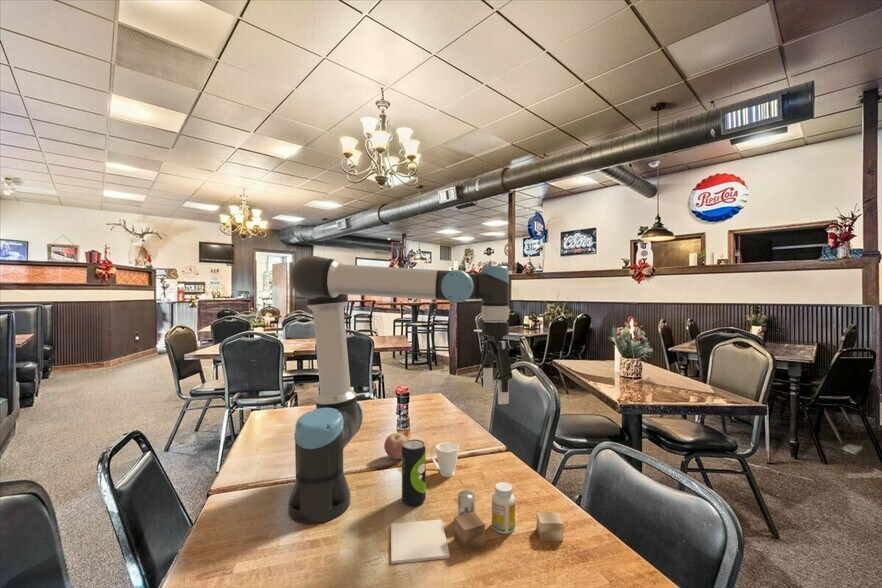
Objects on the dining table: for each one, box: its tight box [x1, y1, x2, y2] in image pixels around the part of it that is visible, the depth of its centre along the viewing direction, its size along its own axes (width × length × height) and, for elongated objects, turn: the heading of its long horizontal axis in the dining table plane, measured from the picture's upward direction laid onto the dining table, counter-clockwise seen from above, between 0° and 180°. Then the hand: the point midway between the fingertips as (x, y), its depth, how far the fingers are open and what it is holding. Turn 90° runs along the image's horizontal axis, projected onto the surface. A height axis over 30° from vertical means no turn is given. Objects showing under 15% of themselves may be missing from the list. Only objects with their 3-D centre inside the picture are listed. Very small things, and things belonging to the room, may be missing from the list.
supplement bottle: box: [491, 481, 516, 535], centre depth 87 cm, size 5×5×10 cm
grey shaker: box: [457, 490, 476, 516], centre depth 90 cm, size 4×4×6 cm
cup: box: [430, 441, 460, 478], centre depth 113 cm, size 7×10×8 cm
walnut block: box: [453, 511, 486, 554], centre depth 82 cm, size 5×5×5 cm
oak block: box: [535, 511, 564, 542], centre depth 84 cm, size 5×4×4 cm
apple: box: [383, 432, 409, 460], centre depth 122 cm, size 8×8×8 cm
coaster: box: [390, 519, 451, 565], centre depth 82 cm, size 12×12×1 cm
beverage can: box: [401, 438, 427, 507], centre depth 98 cm, size 6×6×15 cm
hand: (495, 396), depth 105 cm, fingers open, 13 cm apart
